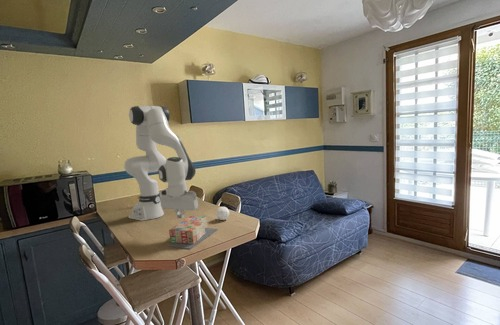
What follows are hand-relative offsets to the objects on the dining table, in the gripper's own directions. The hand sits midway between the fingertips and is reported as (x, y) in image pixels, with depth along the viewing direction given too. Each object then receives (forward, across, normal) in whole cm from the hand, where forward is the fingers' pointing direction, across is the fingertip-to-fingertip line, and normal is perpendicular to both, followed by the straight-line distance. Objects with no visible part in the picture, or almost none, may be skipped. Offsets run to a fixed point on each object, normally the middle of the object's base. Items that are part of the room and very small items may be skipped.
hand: (180, 218), depth 132 cm
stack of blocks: (+6, +2, -1) cm, 6 cm away
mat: (+9, -7, 0) cm, 12 cm away
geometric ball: (+10, -8, -27) cm, 30 cm away
